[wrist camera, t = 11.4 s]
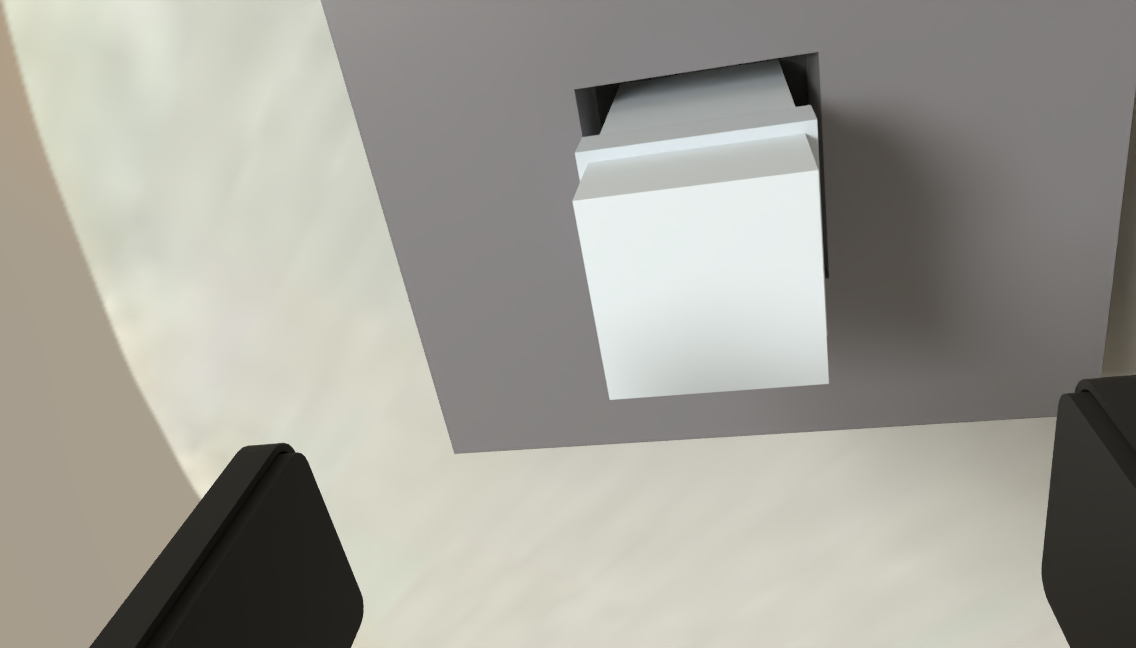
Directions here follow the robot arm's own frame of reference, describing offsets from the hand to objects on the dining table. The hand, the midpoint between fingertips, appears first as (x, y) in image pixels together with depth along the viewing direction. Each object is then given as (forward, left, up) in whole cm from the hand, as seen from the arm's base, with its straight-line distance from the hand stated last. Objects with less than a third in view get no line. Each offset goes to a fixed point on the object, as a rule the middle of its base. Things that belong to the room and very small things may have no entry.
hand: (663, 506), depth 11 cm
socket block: (+1, -1, -17) cm, 17 cm away
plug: (0, 0, -17) cm, 17 cm away
